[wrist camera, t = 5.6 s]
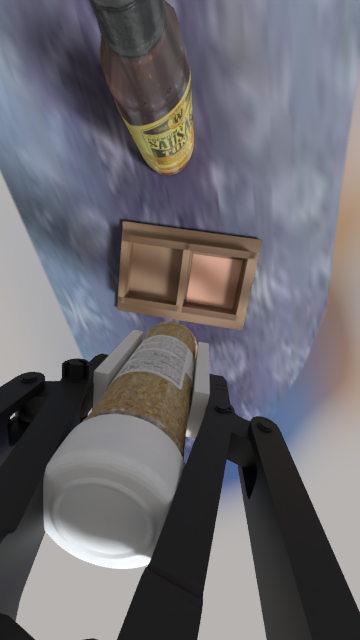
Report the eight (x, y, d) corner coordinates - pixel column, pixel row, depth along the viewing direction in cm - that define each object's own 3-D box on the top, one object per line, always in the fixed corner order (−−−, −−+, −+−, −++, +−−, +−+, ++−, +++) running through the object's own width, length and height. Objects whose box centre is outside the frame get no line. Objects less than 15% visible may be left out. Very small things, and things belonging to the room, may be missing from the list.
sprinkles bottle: (185, 377, 20) (146, 597, 7) (136, 356, 20) (13, 540, 7) (207, 332, 19) (208, 504, 6) (155, 310, 19) (44, 433, 6)
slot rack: (124, 221, 31) (116, 218, 28) (260, 240, 30) (266, 238, 27) (119, 308, 34) (111, 313, 31) (241, 328, 33) (244, 335, 30)
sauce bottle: (168, 189, 29) (98, 65, 10) (133, 149, 29) (-11, -64, 10) (207, 146, 28) (210, -97, 9) (171, 103, 27) (87, -268, 8)
